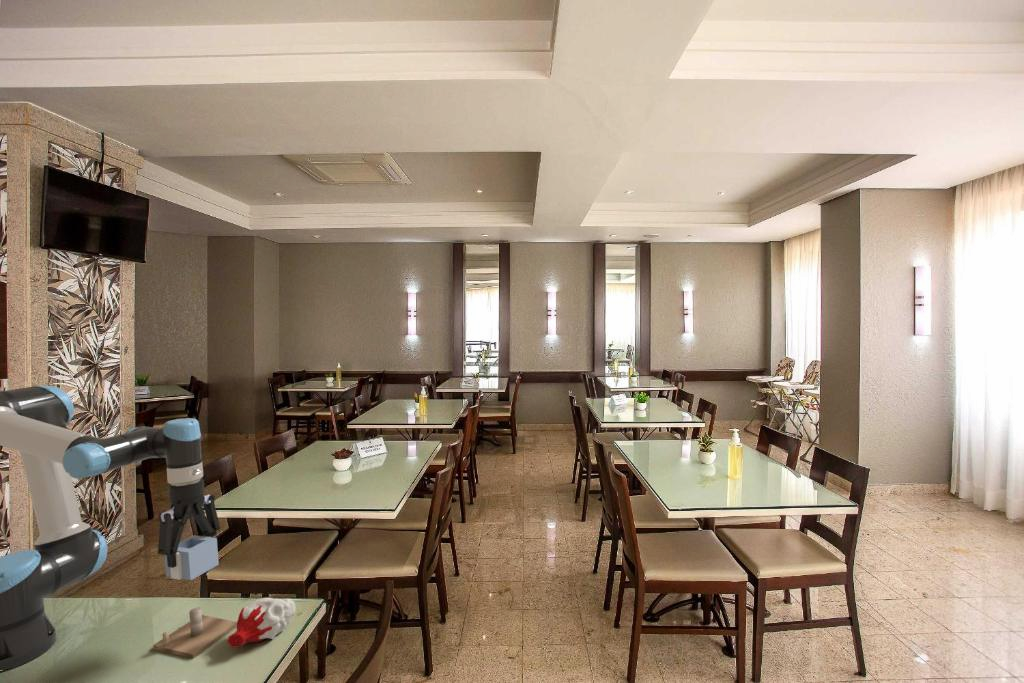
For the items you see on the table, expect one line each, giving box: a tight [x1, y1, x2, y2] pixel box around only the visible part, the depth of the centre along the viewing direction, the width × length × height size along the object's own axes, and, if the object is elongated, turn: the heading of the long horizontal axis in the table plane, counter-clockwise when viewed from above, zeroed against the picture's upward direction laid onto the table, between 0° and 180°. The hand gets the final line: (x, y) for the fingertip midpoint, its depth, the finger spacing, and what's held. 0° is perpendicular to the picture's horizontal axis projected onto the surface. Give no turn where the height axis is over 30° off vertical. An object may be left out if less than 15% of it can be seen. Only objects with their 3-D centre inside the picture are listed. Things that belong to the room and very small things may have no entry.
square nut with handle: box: [163, 534, 220, 581], centre depth 128 cm, size 12×8×7 cm
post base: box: [152, 607, 237, 659], centre depth 128 cm, size 13×13×7 cm
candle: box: [226, 597, 297, 648], centre depth 127 cm, size 9×11×15 cm
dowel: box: [162, 631, 170, 647], centre depth 124 cm, size 1×1×3 cm
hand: (192, 569), depth 128 cm, fingers closed on square nut with handle, 8 cm apart
